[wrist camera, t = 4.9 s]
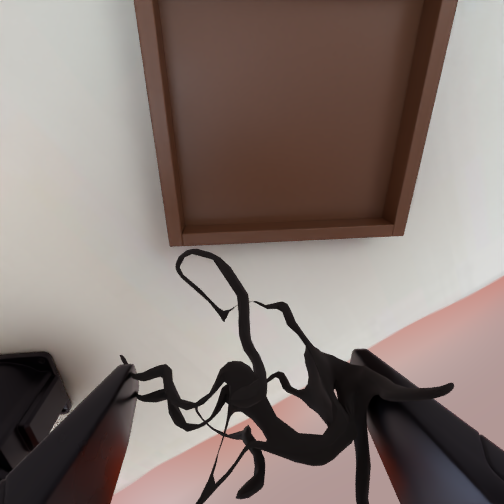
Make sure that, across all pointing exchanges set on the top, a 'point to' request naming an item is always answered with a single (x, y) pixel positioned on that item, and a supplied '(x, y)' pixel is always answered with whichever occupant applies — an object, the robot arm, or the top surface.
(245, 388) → the creature
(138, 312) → the top surface
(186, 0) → the tray
